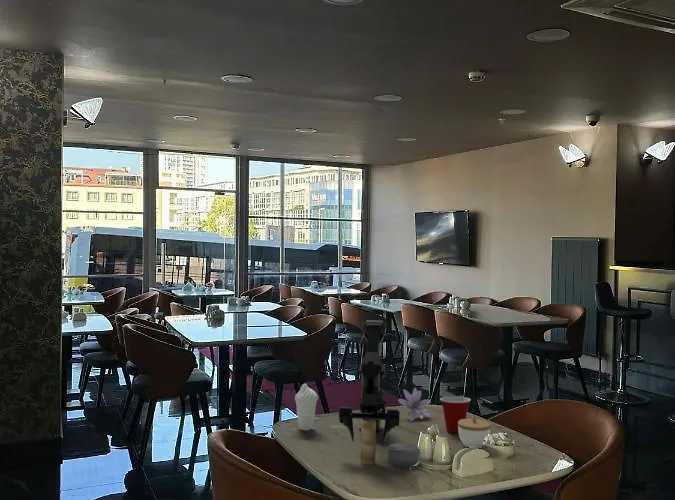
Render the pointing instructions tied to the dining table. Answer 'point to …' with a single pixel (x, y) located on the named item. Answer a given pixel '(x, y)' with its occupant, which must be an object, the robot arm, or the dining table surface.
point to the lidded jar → (473, 431)
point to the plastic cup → (454, 411)
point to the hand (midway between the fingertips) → (368, 441)
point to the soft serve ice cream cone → (306, 407)
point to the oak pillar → (368, 442)
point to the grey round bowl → (402, 455)
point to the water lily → (415, 404)
